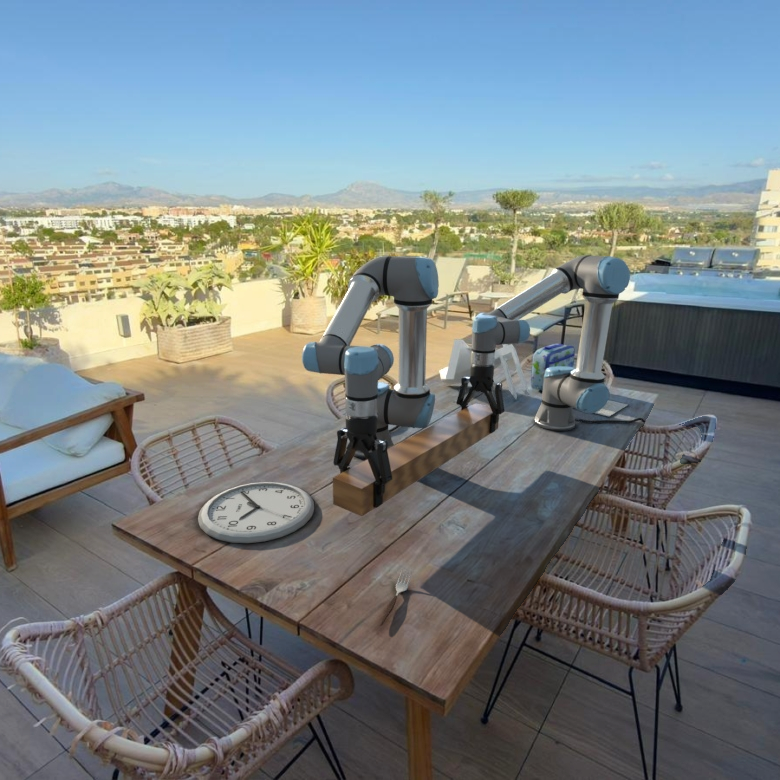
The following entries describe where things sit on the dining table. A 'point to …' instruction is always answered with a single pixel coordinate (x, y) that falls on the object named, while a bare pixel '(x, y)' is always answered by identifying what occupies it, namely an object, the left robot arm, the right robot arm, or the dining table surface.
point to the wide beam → (413, 458)
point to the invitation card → (611, 408)
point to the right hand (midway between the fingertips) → (478, 428)
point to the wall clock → (256, 512)
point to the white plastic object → (462, 363)
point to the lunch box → (550, 361)
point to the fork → (400, 588)
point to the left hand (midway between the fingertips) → (362, 498)
